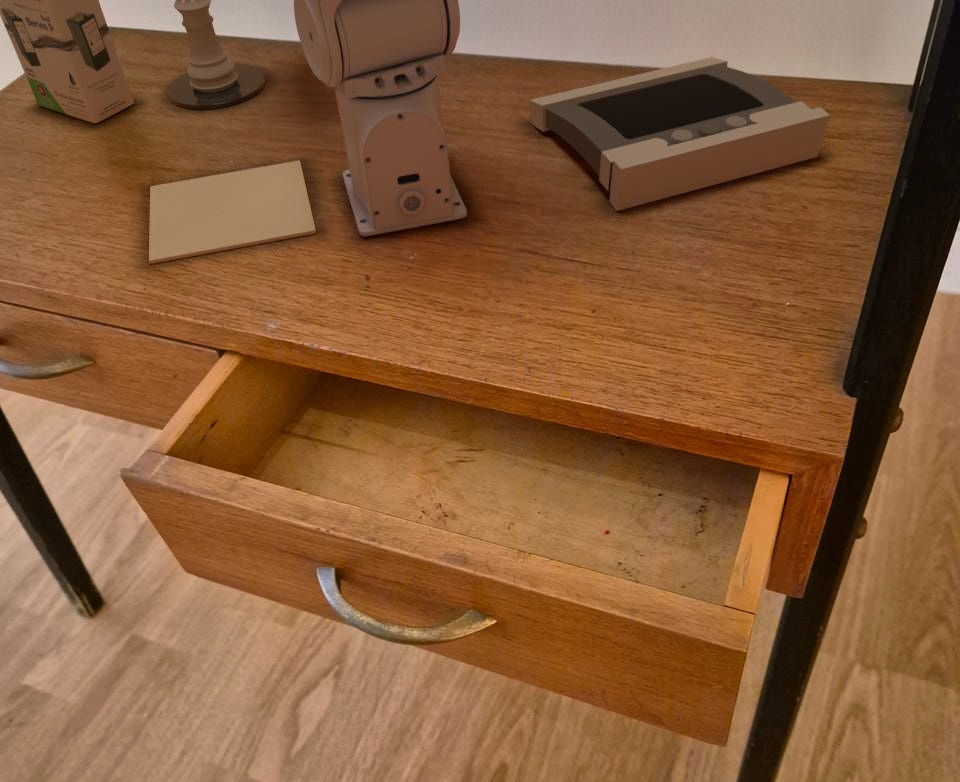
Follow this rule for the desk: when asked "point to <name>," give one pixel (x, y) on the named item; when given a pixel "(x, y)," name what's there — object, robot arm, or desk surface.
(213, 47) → the rook chess piece
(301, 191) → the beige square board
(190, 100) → the slate coaster
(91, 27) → the ink box
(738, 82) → the alarm clock
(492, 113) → the desk surface
